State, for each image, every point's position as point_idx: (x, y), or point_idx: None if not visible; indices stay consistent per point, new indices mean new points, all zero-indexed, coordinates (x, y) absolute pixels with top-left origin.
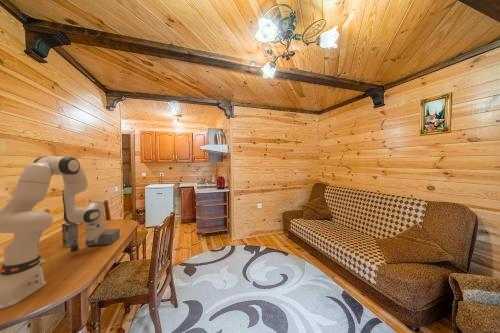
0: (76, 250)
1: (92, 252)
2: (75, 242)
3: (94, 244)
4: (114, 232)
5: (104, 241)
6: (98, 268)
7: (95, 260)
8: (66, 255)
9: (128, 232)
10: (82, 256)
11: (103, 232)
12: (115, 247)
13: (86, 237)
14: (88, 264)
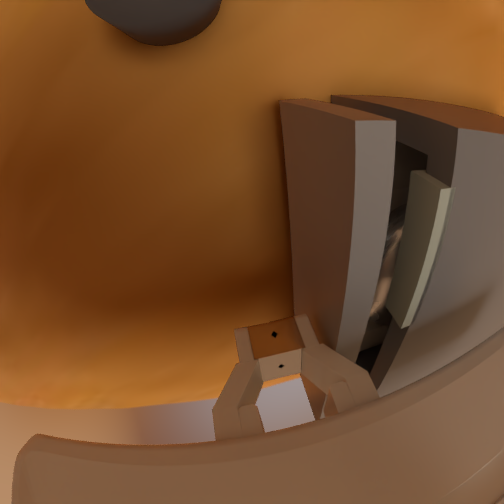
0: (150, 43)
1: (116, 306)
2: None
3: (293, 236)
4: None
5: None
6: (23, 404)
7: (45, 379)
8: (14, 63)
9: None
10: (29, 276)
11: (501, 288)
12: None
13: (17, 487)
14: (9, 369)
